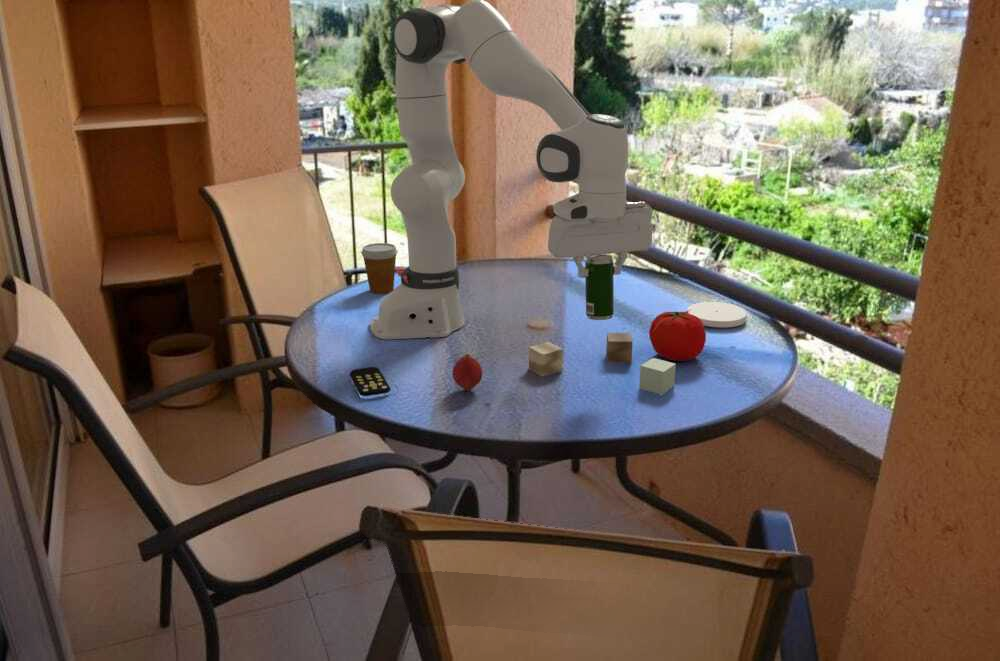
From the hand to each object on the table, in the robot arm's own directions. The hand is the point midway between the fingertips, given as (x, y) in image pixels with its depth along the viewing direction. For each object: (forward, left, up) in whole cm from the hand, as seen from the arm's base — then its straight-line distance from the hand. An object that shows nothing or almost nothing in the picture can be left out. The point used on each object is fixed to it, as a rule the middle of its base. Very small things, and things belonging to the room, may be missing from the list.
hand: (599, 275), depth 162 cm
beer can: (0, -1, -8) cm, 8 cm away
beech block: (-8, +8, -22) cm, 25 cm away
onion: (-26, +3, -22) cm, 34 cm away
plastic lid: (+41, +24, -23) cm, 53 cm away
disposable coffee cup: (-32, +72, -22) cm, 82 cm away
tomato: (+21, +6, -22) cm, 31 cm away
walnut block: (+9, +9, -22) cm, 26 cm away
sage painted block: (+10, -7, -22) cm, 25 cm away
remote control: (-44, +11, -23) cm, 51 cm away
